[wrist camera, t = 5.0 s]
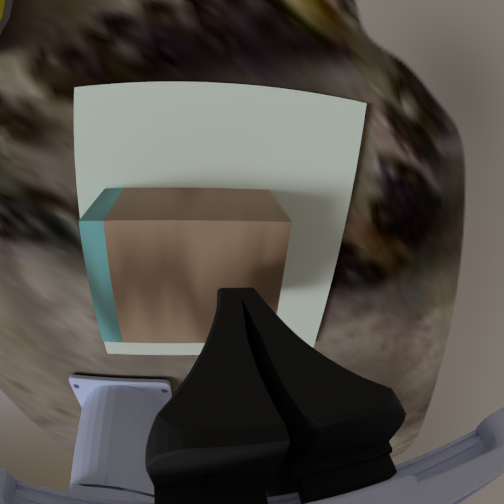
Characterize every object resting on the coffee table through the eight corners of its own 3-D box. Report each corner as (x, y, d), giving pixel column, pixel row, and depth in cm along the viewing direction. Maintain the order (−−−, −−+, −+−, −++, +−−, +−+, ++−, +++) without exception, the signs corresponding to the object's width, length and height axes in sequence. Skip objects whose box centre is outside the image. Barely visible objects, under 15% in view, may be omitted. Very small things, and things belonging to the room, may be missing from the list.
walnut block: (272, 340, 15) (102, 341, 13) (256, 291, 18) (116, 292, 17) (291, 222, 12) (78, 221, 11) (269, 189, 16) (104, 188, 14)
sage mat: (310, 342, 22) (313, 348, 21) (108, 347, 19) (107, 353, 19) (361, 102, 15) (366, 103, 14) (78, 87, 12) (74, 87, 11)
